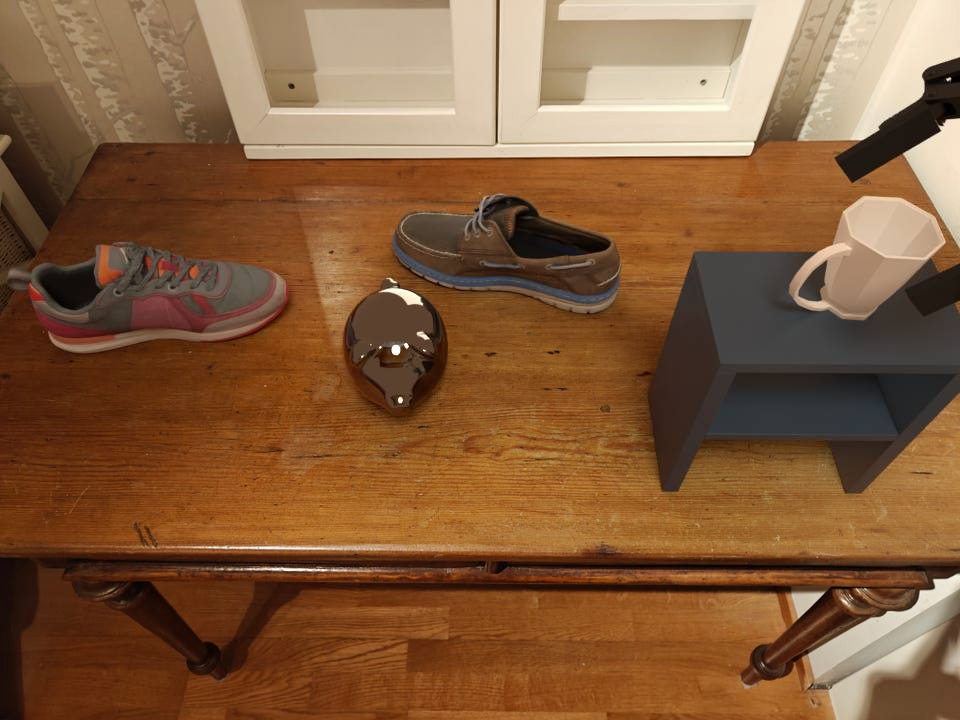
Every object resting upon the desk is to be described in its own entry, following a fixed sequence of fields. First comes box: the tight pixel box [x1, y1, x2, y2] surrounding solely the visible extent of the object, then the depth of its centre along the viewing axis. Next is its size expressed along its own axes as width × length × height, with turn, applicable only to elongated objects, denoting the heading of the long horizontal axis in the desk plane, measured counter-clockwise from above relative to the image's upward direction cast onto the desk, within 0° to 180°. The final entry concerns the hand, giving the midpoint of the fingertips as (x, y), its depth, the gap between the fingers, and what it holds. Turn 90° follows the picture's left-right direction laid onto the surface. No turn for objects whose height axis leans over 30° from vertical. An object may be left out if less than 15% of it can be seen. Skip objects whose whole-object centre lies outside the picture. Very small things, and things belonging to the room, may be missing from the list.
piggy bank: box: [341, 277, 449, 417], centre depth 74 cm, size 11×15×12 cm
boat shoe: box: [391, 193, 622, 315], centre depth 85 cm, size 10×29×11 cm, turn 74°
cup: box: [789, 195, 947, 320], centre depth 53 cm, size 7×10×8 cm
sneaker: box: [6, 240, 290, 355], centre depth 80 cm, size 10×28×12 cm, turn 102°
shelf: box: [646, 250, 960, 494], centre depth 65 cm, size 20×12×22 cm, turn 89°
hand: (874, 232), depth 50 cm, fingers open, 13 cm apart
